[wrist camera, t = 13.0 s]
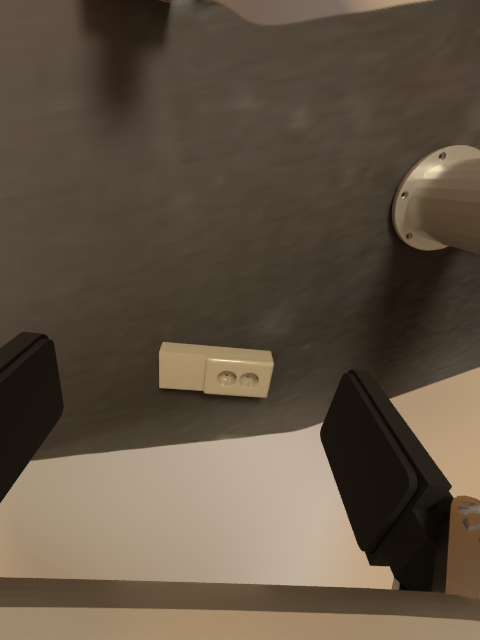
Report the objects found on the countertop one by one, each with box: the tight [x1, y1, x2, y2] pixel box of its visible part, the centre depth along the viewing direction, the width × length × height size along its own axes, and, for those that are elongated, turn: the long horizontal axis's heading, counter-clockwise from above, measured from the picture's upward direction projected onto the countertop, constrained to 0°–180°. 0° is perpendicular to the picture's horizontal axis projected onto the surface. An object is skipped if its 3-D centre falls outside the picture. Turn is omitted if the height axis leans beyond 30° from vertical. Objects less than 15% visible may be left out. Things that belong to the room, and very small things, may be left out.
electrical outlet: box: [159, 342, 274, 398], centre depth 47 cm, size 7×4×18 cm
